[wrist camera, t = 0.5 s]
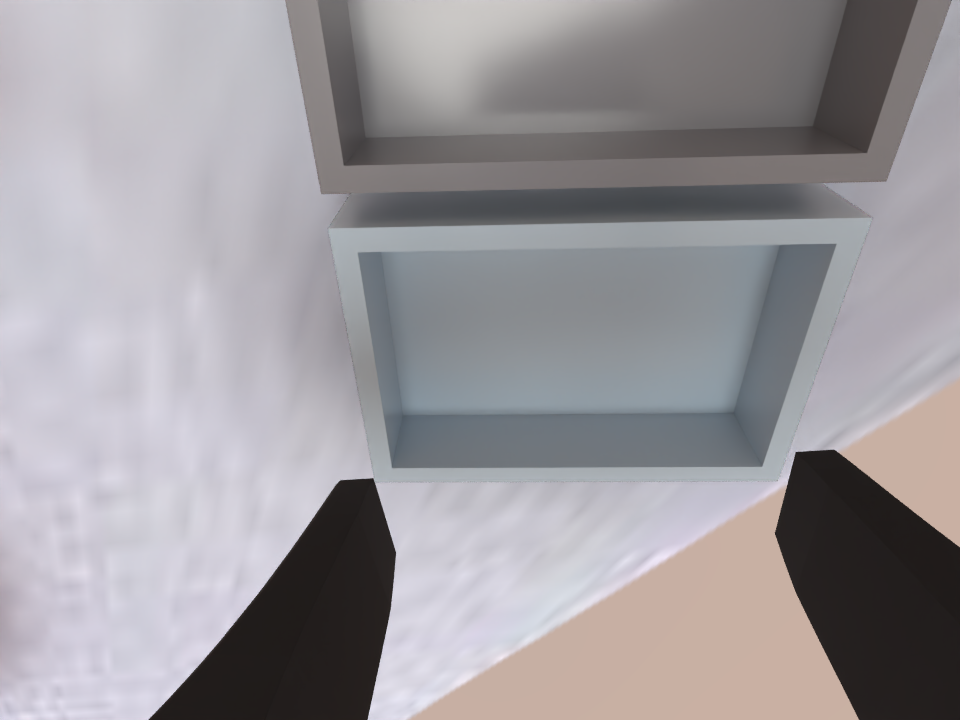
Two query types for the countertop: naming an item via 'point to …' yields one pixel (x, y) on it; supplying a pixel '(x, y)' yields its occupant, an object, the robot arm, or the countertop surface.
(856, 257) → the dish blue
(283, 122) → the countertop surface
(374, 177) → the dish charcoal
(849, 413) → the countertop surface
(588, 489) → the countertop surface
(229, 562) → the countertop surface
